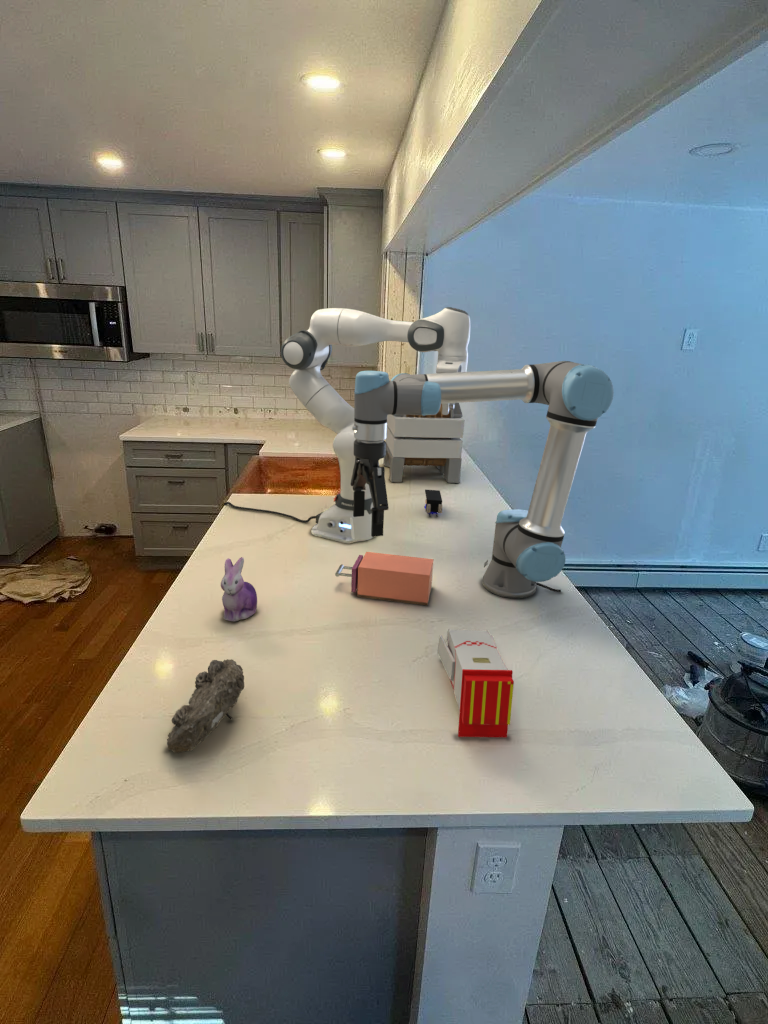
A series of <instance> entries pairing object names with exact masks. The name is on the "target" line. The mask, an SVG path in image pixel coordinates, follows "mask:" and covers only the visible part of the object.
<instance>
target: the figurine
mask: <svg viewBox="0 0 768 1024" xmlns="http://www.w3.org/2000/svg"><path fill="white" fill-rule="evenodd" d="M244 564H245V558H244V557H242V556H241V557H239V558H238V559H237V561H236V562H235V564H233V562H232V560H231V558H229V557H228V558H226V559H225V561H224V575H223V577H222V579H221V582H220V589H221V590H222V591H223V594H222V597H221V602H222V606H223V609H224V611H223V619H224V621H225V620H226V621H229V622H238V621H241V620H245V619H249V618H250V617H252V616H253V615H255V614H256V613H257V607H258V594H257V591H256V587H254V586H253V584H251V583H250V582H248V581H245V580H244V578H243V576H242V571H243V568H244Z"/></svg>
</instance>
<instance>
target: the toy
mask: <svg viewBox="0 0 768 1024" xmlns="http://www.w3.org/2000/svg"><path fill="white" fill-rule="evenodd" d="M446 640H447V643H446V641H445V639H444V636H443V635H442V634H439V637H438V646H437V656H438V657H439V659H440V661H441V663H442V666H443V668H444V670H445V672H446V674H447V677H448V679H449V681H450V684H451V687H452V690H453V693H454V697H455V701H456V705H457V708H458V711H459V714H458V715H459V716H458V730H457V731H458V732H457V737H458V738H508V731H509V726H510V725H511V717H512V707H513V697H514V696H513V695H514V684H515V680H514V679H513V673H514V671H513V670H512V669H508V667H507V665H506V662H505V661H504V659H503V658H502V655H501V653H500V651H499V649H498V647H497V643H496V639H495V637H494V635H493V634H491V632H490V631H489V629H467V628H466V629H465V628H463V629H461V628H460V629H459V628H448V630H447V639H446Z"/></svg>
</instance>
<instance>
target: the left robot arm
mask: <svg viewBox="0 0 768 1024" xmlns="http://www.w3.org/2000/svg"><path fill="white" fill-rule="evenodd" d="M470 340H471V317H470V314H469V313H468V312H467V311H465V310H464V309H460V308H456V307H451V306H446V307H444V308H443V309H442V310H440V311H439V312H437V313H434V314H432V315H429V316H426V317H422V318H419V319H416V320H415V321H406V320H395V319H389V318H384V317H381V316H377V315H374V314H372V313H368V312H365V311H362V310H358V309H353V308H344V307H329V308H328V307H327V308H320V309H316V310H315V311H314V312H313V313H312V315H311V317H310V321H309V327H308V329H301V330H299V331H297V332H296V333H294V334H291V335H290V336H288V337H287V338H286V339H285V340H284V341H283V342H282V343H281V344H282V345H281V347H280V356H281V359H282V361H283V362H284V363H283V364H285V365H286V366H287V367H289V368H291V369H293V370H294V371H292V373H291V375H290V376H289V379H288V384H289V387H290V389H291V391H292V392H293V394H294V395H295V396H296V399H298V400H299V402H300V403H301V404H302V406H303V407H304V408H305V409H306V410H307V411H308V412H309V413H310V414H311V415H312V416H313V417H314V419H315V420H316V421H317V422H318V423H319V425H321V426H323V427H325V428H327V429H329V430H331V431H332V432H334V434H336V435H335V437H334V439H333V441H332V449H333V452H334V454H335V455H336V457H337V462H338V466H339V473H340V490H339V491H338V492H337V494H336V495H335V496H334V497H333V502H334V504H333V505H331V506H329V507H328V508H326V509H325V510H323V511H322V512H319V513H318V514H316V515H312V516H309V517H308V518H307V519H305V520H303V519H300V518H298V517H296V516H293V515H290V514H286V513H282V512H279V511H274V510H269V509H268V510H267V509H261V508H254V507H253V508H252V507H244V506H238V505H235V504H232V503H231V502H230V501H226V502H224V504H223V506H227V505H228V506H230V507H231V508H233V509H236V510H237V509H238V510H243V511H244V510H245V511H251V512H260V513H267V514H273V515H277V516H282V517H284V518H285V517H286V518H289V519H292V520H295V521H297V522H300V523H302V524H308V523H310V522H311V520H315V524H314V525H313V526H312V528H311V530H310V533H311V536H315V537H319V538H323V539H326V540H330V541H336V542H339V543H343V544H352V543H357V542H365V541H368V540H372V539H373V538H374V537H372V536H371V525H372V511H371V509H372V508H374V507H373V503H372V498H371V493H370V488H369V485H368V484H367V483H366V484H365V488H366V490H361V491H365V505H364V516H360V517H354V516H353V500H354V492H355V491H353V486H351V479H352V474H353V469H354V464H355V456H354V441H355V440H356V439H355V438H354V430H352V427H353V426H354V407H353V406H352V405H350V403H348V402H347V401H346V400H345V399H344V398H343V397H342V396H341V395H340V393H339V392H338V391H336V389H335V388H334V387H333V386H332V385H331V384H330V383H329V382H328V380H326V378H325V377H324V376H323V374H322V372H321V371H323V370H324V369H325V367H326V365H327V363H328V361H329V359H330V358H331V355H332V352H333V346H343V347H359V346H360V347H361V346H367V345H372V344H377V343H382V342H398V343H408V344H409V346H410V347H411V348H412V349H413V350H415V351H417V352H419V353H429V352H437V363H436V364H437V365H436V368H435V373H455V372H468V371H467V370H468V361H469V352H468V346H469V343H470ZM454 404H455V403H443V404H442V414H443V415H448V414H449V410H453V409H454Z"/></svg>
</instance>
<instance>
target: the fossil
mask: <svg viewBox="0 0 768 1024" xmlns="http://www.w3.org/2000/svg"><path fill="white" fill-rule="evenodd" d="M243 670H244V669H243V667H242V665H240V664H237V662H236V661H235V660H234V659H232V658H231V659H227V658H226V659H224V660H223V661H222V660H217V659H212V660H211V661H210V663H209V665H208V666H207V671H201V672H199V673H198V674H197V675H196V676H195V680H194V684H195V685H194V687H195V689H194V690H193V693H192V694H191V697H190V698H189V700H188V704H184V705H182V706H181V707H180V709H177V710H176V711H175V713H174V715H173V716H172V718H171V723H172V724H173V727H172V730H171V731H170V732H168V734H167V738H166V741H167V742H166V745H167V749H168V750H169V751H173V752H174V753H176V754H178V753H182V752H188V751H189V752H192V751H193V750H195V748H196V747H197V746H199V744H200V743H201V742H203V741H204V740H205V739H206V738H207V737H208V736H209V735H210V734H211V733H212V732H214V730H215V729H217V727H218V726H219V724H220V722H221V721H222V720H223V719H224V718H225V716H226V717H227V719H229V720H233V717H232V715H230V714H229V710H230V709H231V708H234V706H235V704H236V703H237V702H238V699H239V697H240V695H241V693H242V691H243V690H245V689H244V688H245V675H244V671H243Z"/></svg>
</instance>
